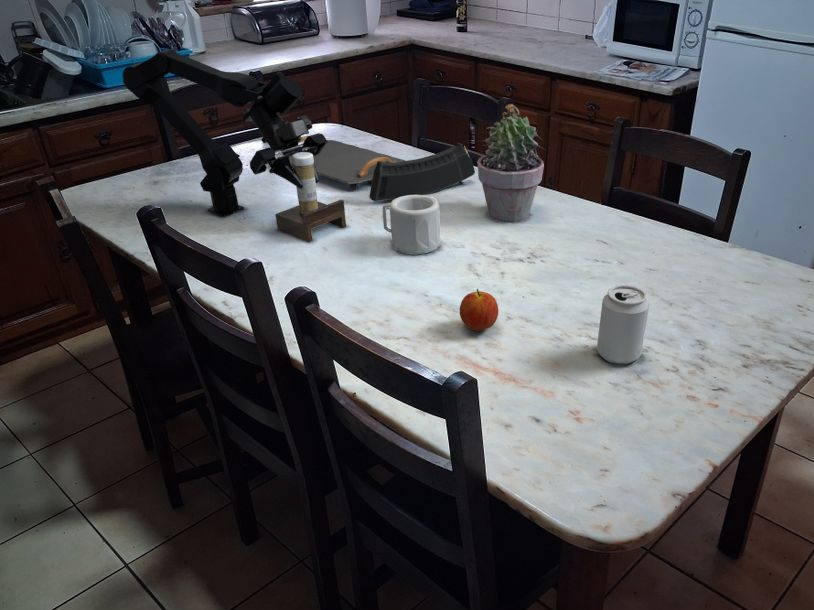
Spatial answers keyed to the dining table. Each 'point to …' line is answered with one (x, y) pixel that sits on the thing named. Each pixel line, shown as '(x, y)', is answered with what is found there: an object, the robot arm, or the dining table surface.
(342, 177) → the serving tray
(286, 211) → the shelf
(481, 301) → the fruit
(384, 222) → the mug
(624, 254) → the dining table surface
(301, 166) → the sprinkles bottle
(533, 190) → the potted plant
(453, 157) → the magazine
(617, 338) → the can
